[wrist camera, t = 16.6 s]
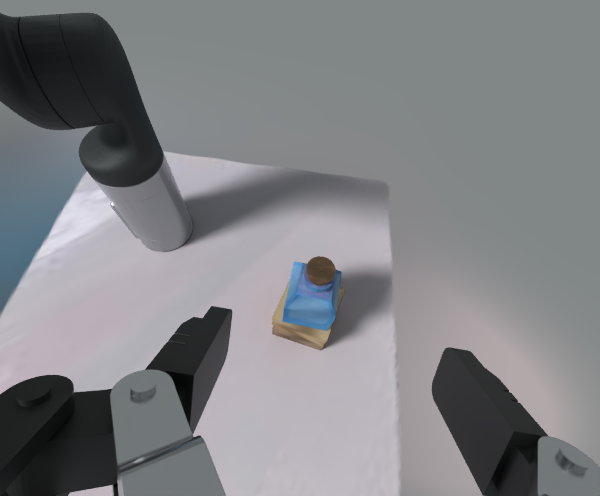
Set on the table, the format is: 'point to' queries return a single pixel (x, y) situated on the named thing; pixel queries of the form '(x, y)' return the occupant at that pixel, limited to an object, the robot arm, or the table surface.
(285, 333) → the tower bottom block
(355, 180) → the table surface
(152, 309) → the table surface
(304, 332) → the tower top block
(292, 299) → the perfume bottle
